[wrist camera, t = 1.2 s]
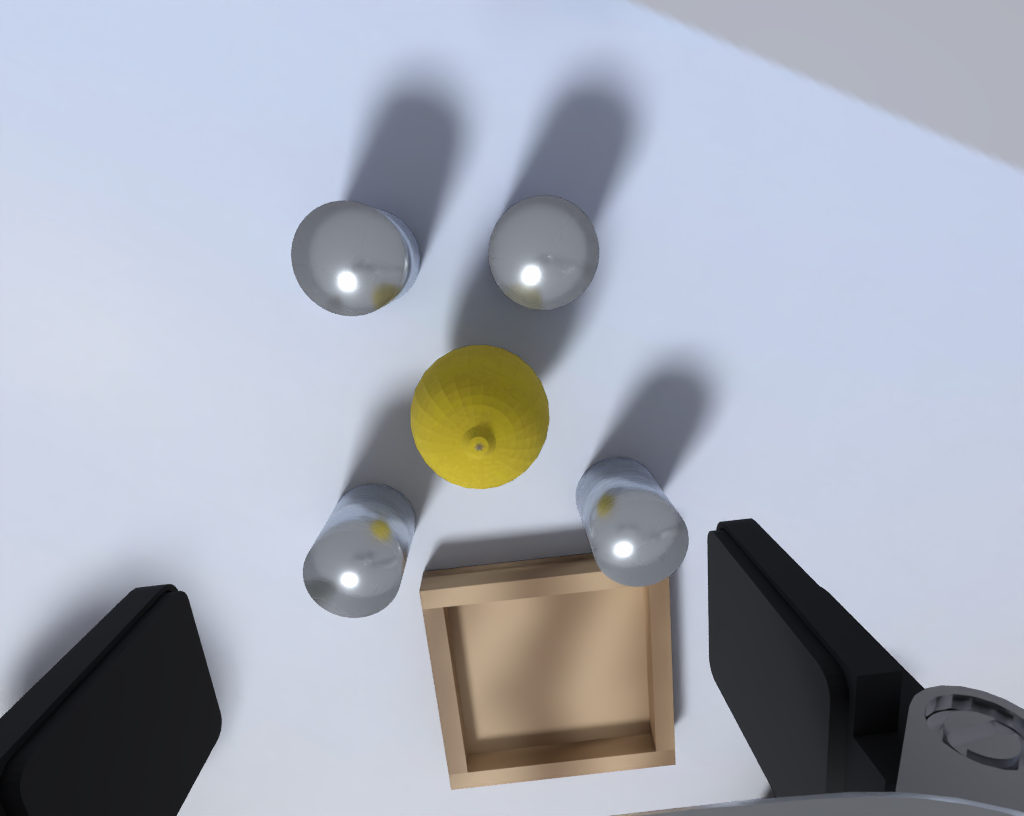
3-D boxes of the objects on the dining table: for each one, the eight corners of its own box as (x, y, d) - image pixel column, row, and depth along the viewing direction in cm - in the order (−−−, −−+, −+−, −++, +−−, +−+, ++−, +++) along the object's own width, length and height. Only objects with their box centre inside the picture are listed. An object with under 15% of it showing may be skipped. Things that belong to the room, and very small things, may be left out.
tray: (658, 545, 30) (668, 564, 28) (665, 737, 33) (675, 764, 32) (423, 571, 30) (419, 591, 28) (453, 761, 33) (451, 789, 31)
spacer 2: (409, 479, 29) (392, 526, 24) (420, 553, 30) (407, 612, 25) (327, 488, 29) (294, 537, 24) (341, 561, 30) (313, 622, 25)
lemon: (439, 458, 28) (420, 536, 21) (408, 347, 27) (376, 386, 19) (551, 433, 28) (574, 502, 21) (527, 320, 27) (542, 349, 19)
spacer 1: (413, 205, 25) (395, 195, 21) (426, 298, 27) (411, 310, 22) (320, 214, 25) (281, 206, 21) (336, 308, 26) (303, 321, 22)
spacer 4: (654, 453, 29) (687, 494, 24) (657, 527, 30) (689, 581, 25) (572, 462, 29) (589, 504, 24) (578, 536, 30) (595, 591, 25)
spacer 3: (575, 200, 26) (595, 189, 21) (582, 293, 27) (602, 304, 22) (484, 210, 26) (482, 201, 21) (493, 303, 27) (494, 315, 22)
